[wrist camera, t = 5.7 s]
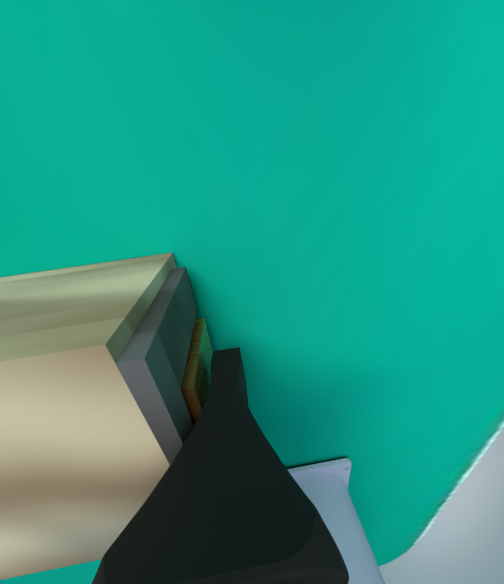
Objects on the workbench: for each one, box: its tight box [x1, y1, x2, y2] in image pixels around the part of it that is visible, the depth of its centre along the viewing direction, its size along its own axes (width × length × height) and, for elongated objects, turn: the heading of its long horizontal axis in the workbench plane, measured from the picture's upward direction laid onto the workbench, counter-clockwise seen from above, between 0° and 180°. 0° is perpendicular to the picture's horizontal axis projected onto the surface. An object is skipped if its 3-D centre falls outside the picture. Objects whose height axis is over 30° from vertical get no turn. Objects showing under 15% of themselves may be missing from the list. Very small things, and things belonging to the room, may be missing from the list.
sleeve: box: [0, 253, 197, 580], centre depth 9 cm, size 10×11×6 cm
